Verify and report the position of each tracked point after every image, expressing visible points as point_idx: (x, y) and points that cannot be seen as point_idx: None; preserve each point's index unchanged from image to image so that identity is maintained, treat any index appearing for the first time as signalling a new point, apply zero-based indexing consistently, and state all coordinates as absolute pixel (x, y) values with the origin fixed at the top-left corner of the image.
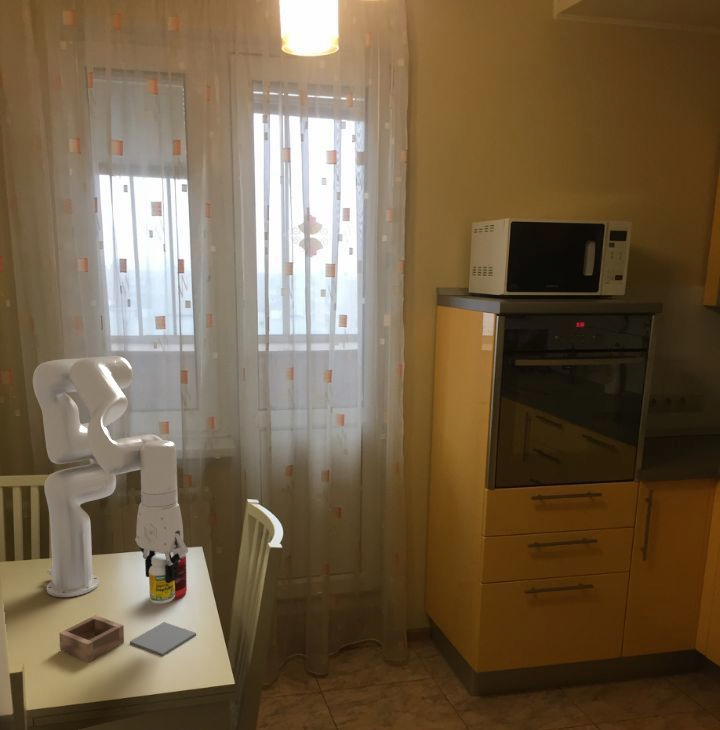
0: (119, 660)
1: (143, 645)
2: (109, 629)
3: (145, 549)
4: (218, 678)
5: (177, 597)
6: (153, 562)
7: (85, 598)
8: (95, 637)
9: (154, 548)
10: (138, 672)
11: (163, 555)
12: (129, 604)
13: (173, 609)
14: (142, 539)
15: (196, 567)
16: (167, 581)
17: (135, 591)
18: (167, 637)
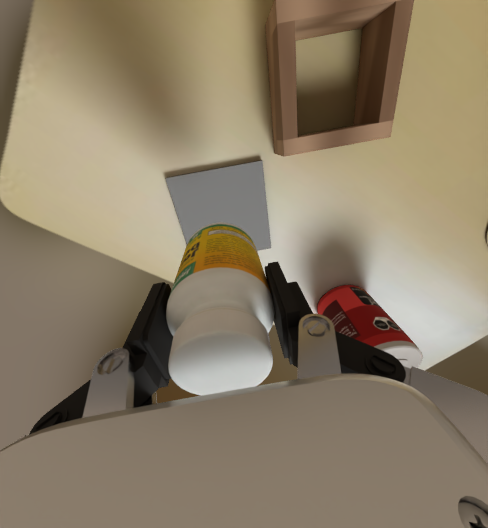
0: (216, 96)
1: (224, 170)
2: (296, 115)
3: (326, 370)
4: (16, 202)
5: (319, 303)
6: (214, 320)
7: (482, 204)
8: (292, 50)
9: (136, 444)
10: (135, 95)
11: (231, 381)
12: (381, 245)
13: (298, 281)
14: (363, 516)
15: None
16: (152, 286)
17: (403, 274)
18: (216, 221)
